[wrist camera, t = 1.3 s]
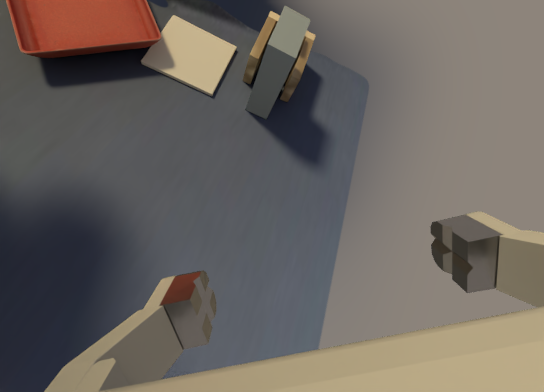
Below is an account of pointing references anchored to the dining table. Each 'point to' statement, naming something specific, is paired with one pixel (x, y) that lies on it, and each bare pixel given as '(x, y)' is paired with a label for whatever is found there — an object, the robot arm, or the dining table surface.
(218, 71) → the felt mat
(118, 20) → the plant saucer
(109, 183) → the dining table surface
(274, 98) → the grey rectangular block
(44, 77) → the dining table surface
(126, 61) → the dining table surface
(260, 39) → the rack
